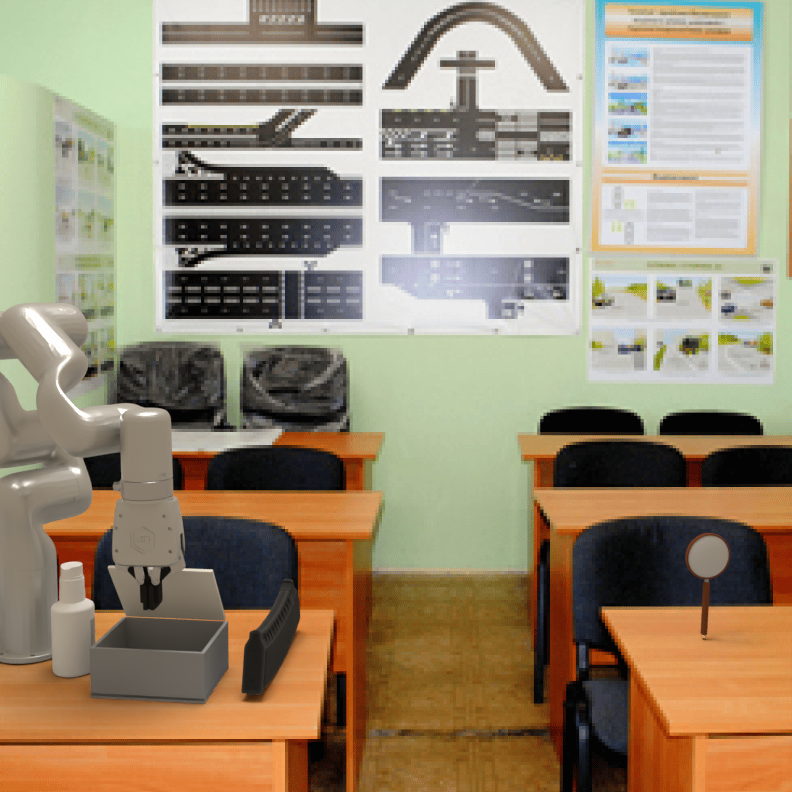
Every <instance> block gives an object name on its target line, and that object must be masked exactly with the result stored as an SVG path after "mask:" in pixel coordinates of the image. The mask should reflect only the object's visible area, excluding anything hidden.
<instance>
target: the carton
mask: <svg viewBox="0 0 792 792" xmlns="http://www.w3.org/2000/svg"><path fill="white" fill-rule="evenodd" d="M229 663H230V662H229V621H227V620H225V621H221V620H198V619H175V618H153V617H130V616H123V617H121V618H119V620H118V621H117V622H116V623H114V625H113V626H111V628H110V629H109V630H108V631H106V633H104V634H103V635H102V636H101V637H100V638H99V639H98V640H97V641H95V644H94V645H93V646H92V647H90V673H89V674H90V675H89V676H90V678H89V679H90V699H104V700H105V699H106V700H107V699H108V700H122V701H123V700H126V701H144V702H145V701H147V702H164V703H184V704H185V703H186V704H202V705H203V704H206V703H207V701H208V699H209V698H210V697H211V695H212V693H213V692H214V691H215V689H216V687H217V686H218V685H219V683H220V681H221V680H222V679H223V677H224V675H225V673H226V672H227V671H228V670H229Z"/></svg>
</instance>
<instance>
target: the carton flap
mask: <svg viewBox="0 0 792 792" xmlns="http://www.w3.org/2000/svg"><path fill="white" fill-rule="evenodd" d="M107 570H108V573H109V575H110V577H111V581H112V583H113V586H114V588H115V591H116V593H117V596H118V599H119V601H120V604H121V605H122V606H121V607H122V609H123V611H124V614H125V617H140V618H162V619H185V620H208V621H227V620H226V619H227V617H226V613H225V610H224V605H223V602H222V598H221V595H220V590H219V587H218V584H217V580H216V576H215V572H214V569H211V568H210V569H209V568H208V569H207V568H205V569H204V568H186V567H185V568H184V569H183V570H182V571H179V572H174V573H169V574H168V575H167V576H166V577H165V578H164V579H163V580H162V593H163V600H162V602H161V603H160V605H159V606H158V607H157V608H156V609H155V610H150V609H148V610H143V603H141V602H140V585H139V584H137V582H136V579H135V578H134V577H133V576H132V575H131V574H130V573H129V572H124V571H120V570H117V569H116V568H115V565H108V566H107ZM149 572H150V577H151V579H152V572H153V567H149Z"/></svg>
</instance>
